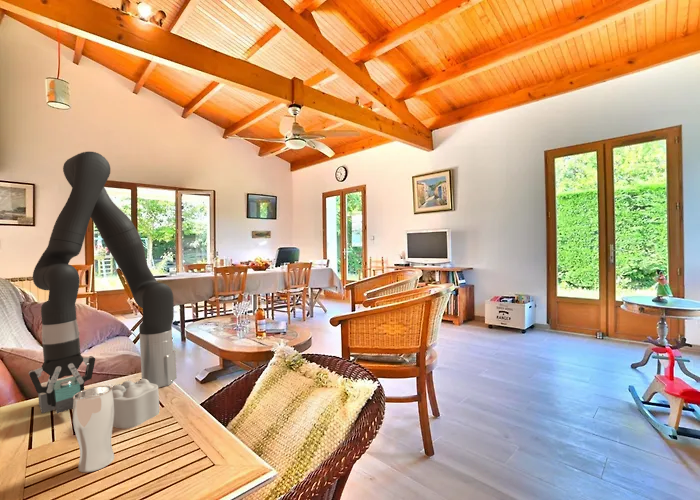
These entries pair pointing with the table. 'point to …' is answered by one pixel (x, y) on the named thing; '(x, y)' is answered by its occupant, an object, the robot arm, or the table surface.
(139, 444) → the table surface
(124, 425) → the lumpy-topped squat cylinder
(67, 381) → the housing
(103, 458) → the beer glass
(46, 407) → the stand
